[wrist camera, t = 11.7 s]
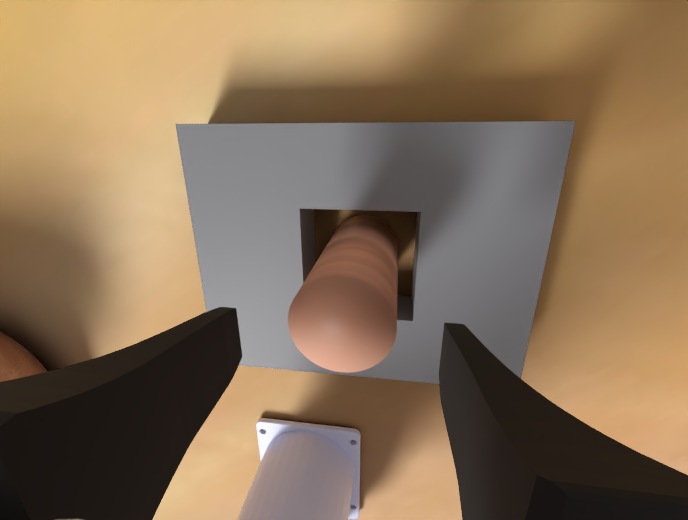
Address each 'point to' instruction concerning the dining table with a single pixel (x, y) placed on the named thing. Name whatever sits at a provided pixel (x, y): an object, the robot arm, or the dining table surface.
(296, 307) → the terracotta peg
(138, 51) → the dining table surface
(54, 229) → the dining table surface
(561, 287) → the dining table surface
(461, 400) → the robot arm
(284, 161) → the grey flat holed block
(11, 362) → the ceramic jug
